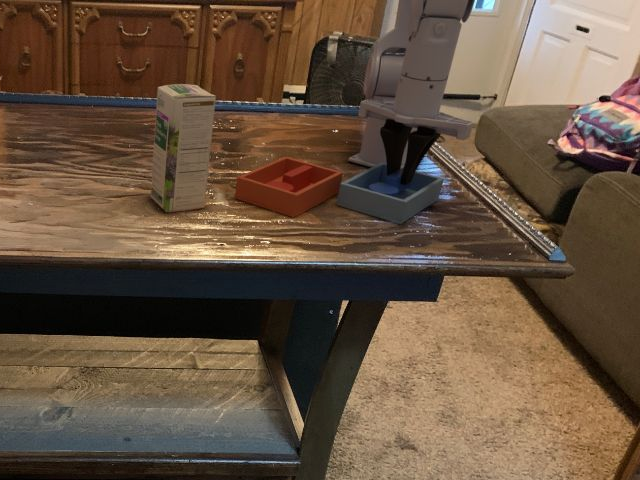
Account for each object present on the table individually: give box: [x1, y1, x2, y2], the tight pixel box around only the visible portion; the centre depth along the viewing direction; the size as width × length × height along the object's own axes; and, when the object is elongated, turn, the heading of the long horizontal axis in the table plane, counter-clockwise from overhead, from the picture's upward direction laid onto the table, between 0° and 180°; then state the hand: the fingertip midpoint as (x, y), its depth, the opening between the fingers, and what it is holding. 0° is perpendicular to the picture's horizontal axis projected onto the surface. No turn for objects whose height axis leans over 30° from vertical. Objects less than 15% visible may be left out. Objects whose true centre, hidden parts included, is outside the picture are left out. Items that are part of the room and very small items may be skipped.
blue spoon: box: [368, 167, 411, 198], centre depth 102 cm, size 9×4×3 cm, turn 139°
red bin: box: [234, 155, 344, 218], centre depth 103 cm, size 12×9×3 cm
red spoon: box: [266, 165, 313, 193], centre depth 103 cm, size 9×4×3 cm, turn 139°
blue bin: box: [336, 162, 445, 225], centre depth 102 cm, size 12×9×3 cm
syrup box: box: [150, 83, 217, 213], centre depth 96 cm, size 6×6×14 cm
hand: (398, 180), depth 103 cm, fingers closed on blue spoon
